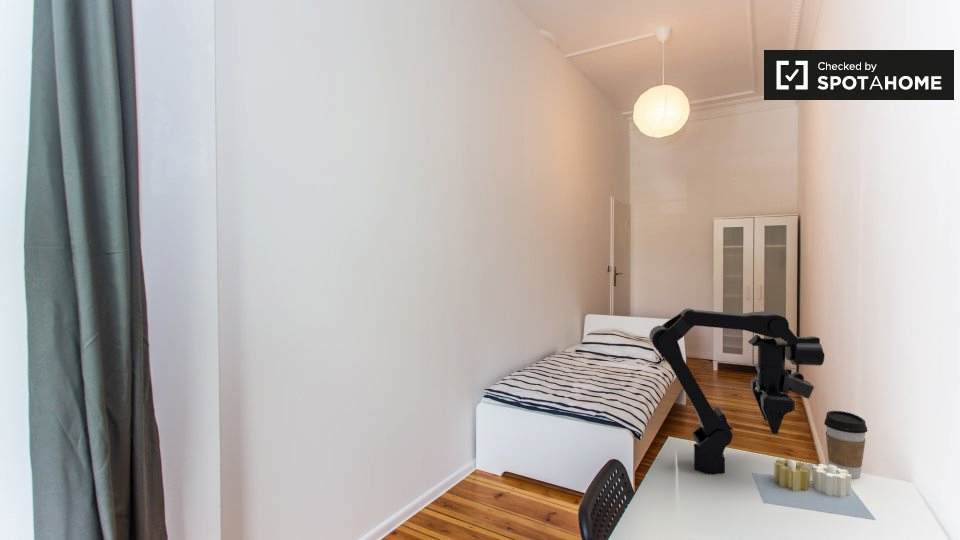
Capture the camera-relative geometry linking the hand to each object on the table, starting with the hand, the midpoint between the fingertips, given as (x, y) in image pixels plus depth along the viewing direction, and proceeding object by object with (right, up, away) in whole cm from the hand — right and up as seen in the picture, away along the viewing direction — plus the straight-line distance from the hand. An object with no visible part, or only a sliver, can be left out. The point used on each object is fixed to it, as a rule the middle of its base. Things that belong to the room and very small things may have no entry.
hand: (770, 427), depth 117 cm
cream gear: (+9, -12, -7) cm, 17 cm away
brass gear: (+2, -12, -5) cm, 13 cm away
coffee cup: (+18, -12, 0) cm, 22 cm away
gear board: (+3, -13, -9) cm, 16 cm away
